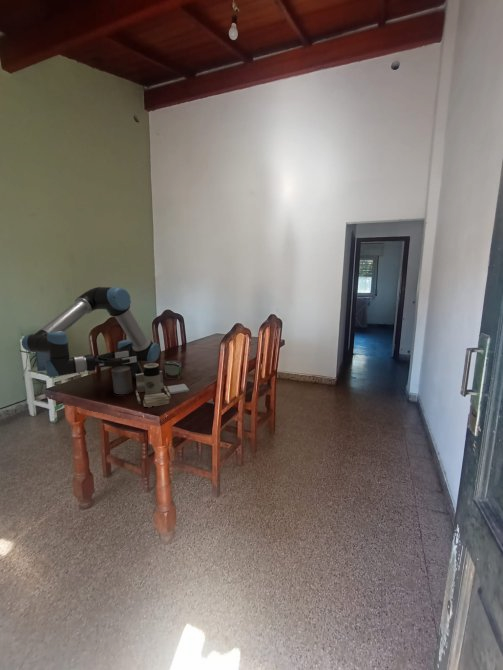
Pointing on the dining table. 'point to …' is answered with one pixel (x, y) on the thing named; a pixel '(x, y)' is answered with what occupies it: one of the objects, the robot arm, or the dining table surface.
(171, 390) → the mat
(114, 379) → the pillar candle
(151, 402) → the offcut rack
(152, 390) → the travel mug
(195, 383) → the dining table surface
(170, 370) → the food container
